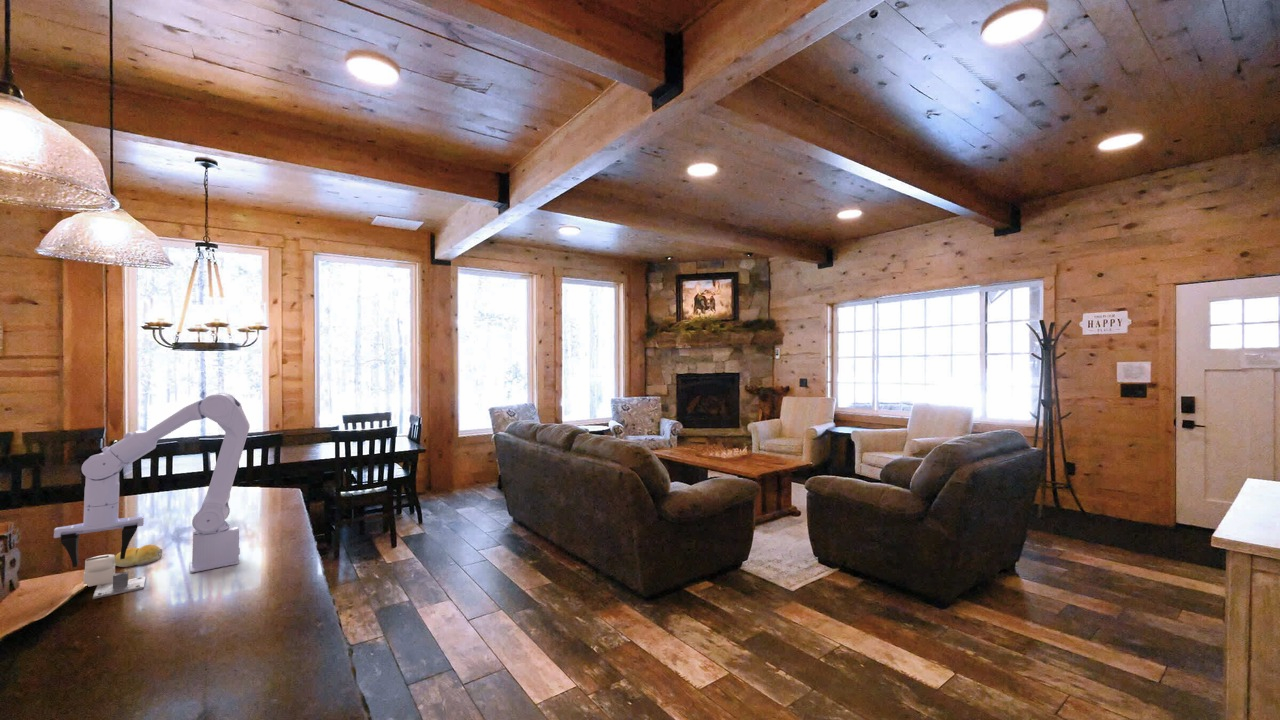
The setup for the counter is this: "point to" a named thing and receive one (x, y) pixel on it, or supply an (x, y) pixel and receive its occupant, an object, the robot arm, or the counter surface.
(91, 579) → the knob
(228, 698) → the counter surface
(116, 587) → the plate
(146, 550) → the bread roll
